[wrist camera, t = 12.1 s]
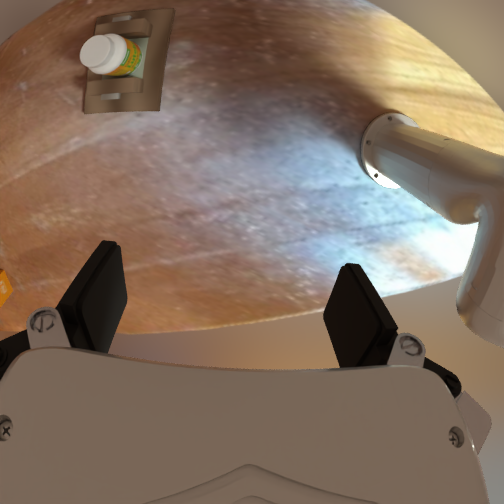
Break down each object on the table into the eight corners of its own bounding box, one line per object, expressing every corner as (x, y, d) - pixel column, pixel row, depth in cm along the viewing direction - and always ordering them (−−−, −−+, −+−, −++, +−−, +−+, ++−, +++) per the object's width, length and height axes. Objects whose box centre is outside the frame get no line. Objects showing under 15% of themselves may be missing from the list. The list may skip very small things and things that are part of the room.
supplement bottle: (143, 73, 29) (115, 67, 21) (108, 80, 29) (73, 78, 20) (144, 39, 26) (117, 23, 18) (109, 46, 26) (75, 36, 18)
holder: (175, 10, 25) (167, -1, 21) (159, 110, 33) (149, 112, 29) (99, 18, 24) (85, 12, 19) (87, 113, 32) (70, 116, 27)
